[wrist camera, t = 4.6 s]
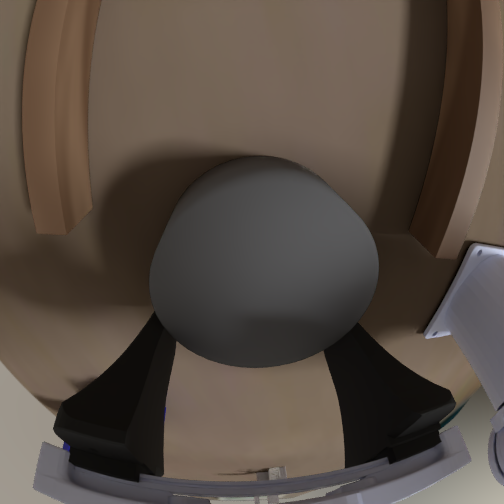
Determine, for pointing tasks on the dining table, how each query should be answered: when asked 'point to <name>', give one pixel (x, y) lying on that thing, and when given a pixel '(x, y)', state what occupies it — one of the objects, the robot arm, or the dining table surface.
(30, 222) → the dining table surface
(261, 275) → the grey round dome
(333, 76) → the dining table surface
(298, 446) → the dining table surface
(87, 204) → the frame
